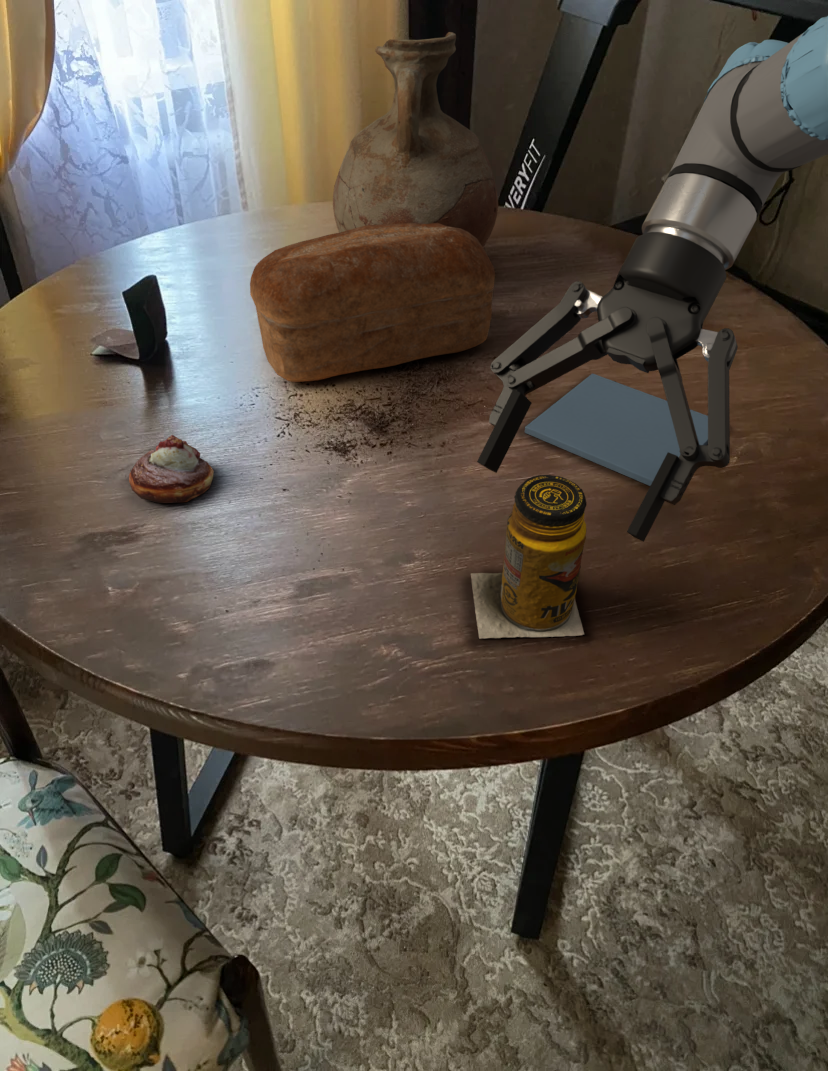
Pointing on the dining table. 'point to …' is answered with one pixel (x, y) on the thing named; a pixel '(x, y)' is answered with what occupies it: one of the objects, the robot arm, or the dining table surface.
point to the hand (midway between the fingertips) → (557, 501)
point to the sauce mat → (614, 427)
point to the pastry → (171, 473)
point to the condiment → (536, 565)
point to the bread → (372, 299)
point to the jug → (416, 155)
